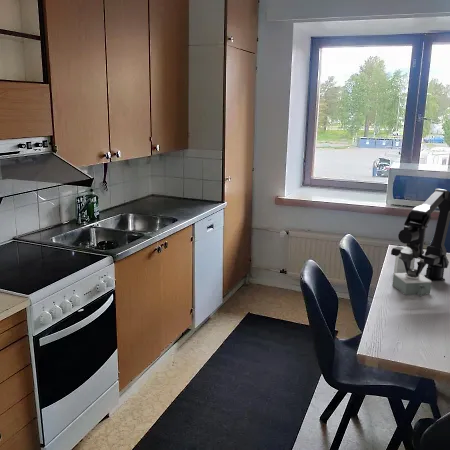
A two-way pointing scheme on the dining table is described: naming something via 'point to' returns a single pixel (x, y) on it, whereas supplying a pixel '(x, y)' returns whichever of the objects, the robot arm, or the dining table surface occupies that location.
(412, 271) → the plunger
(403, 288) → the pale grey box
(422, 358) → the dining table surface
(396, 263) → the supplement box
